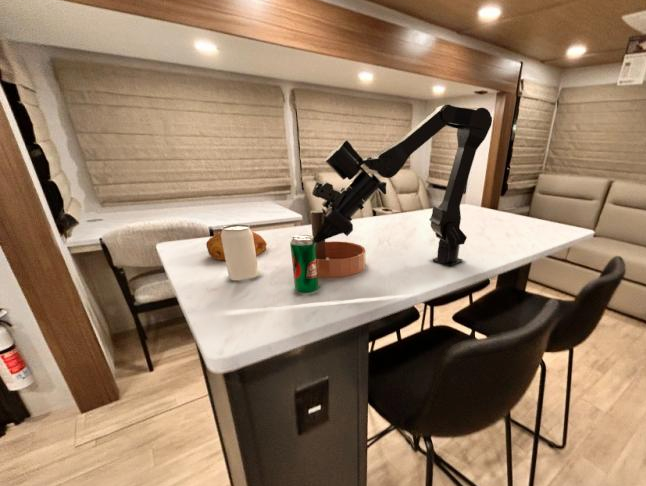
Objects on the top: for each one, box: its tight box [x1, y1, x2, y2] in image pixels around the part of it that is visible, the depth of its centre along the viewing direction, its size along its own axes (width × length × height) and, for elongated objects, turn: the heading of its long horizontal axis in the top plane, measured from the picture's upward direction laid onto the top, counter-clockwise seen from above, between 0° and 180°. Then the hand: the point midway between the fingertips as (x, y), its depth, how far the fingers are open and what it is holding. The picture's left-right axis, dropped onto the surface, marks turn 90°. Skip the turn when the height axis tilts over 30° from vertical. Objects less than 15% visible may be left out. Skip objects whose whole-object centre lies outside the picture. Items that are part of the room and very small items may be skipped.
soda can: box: [289, 234, 320, 294], centre depth 66 cm, size 5×5×12 cm
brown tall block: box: [310, 209, 329, 260], centre depth 76 cm, size 4×3×13 cm
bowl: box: [317, 240, 367, 279], centre depth 80 cm, size 16×16×5 cm
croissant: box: [206, 231, 267, 261], centre depth 88 cm, size 14×16×8 cm
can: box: [221, 224, 260, 282], centre depth 71 cm, size 6×6×12 cm
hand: (313, 240), depth 76 cm, fingers closed on brown tall block, 3 cm apart
